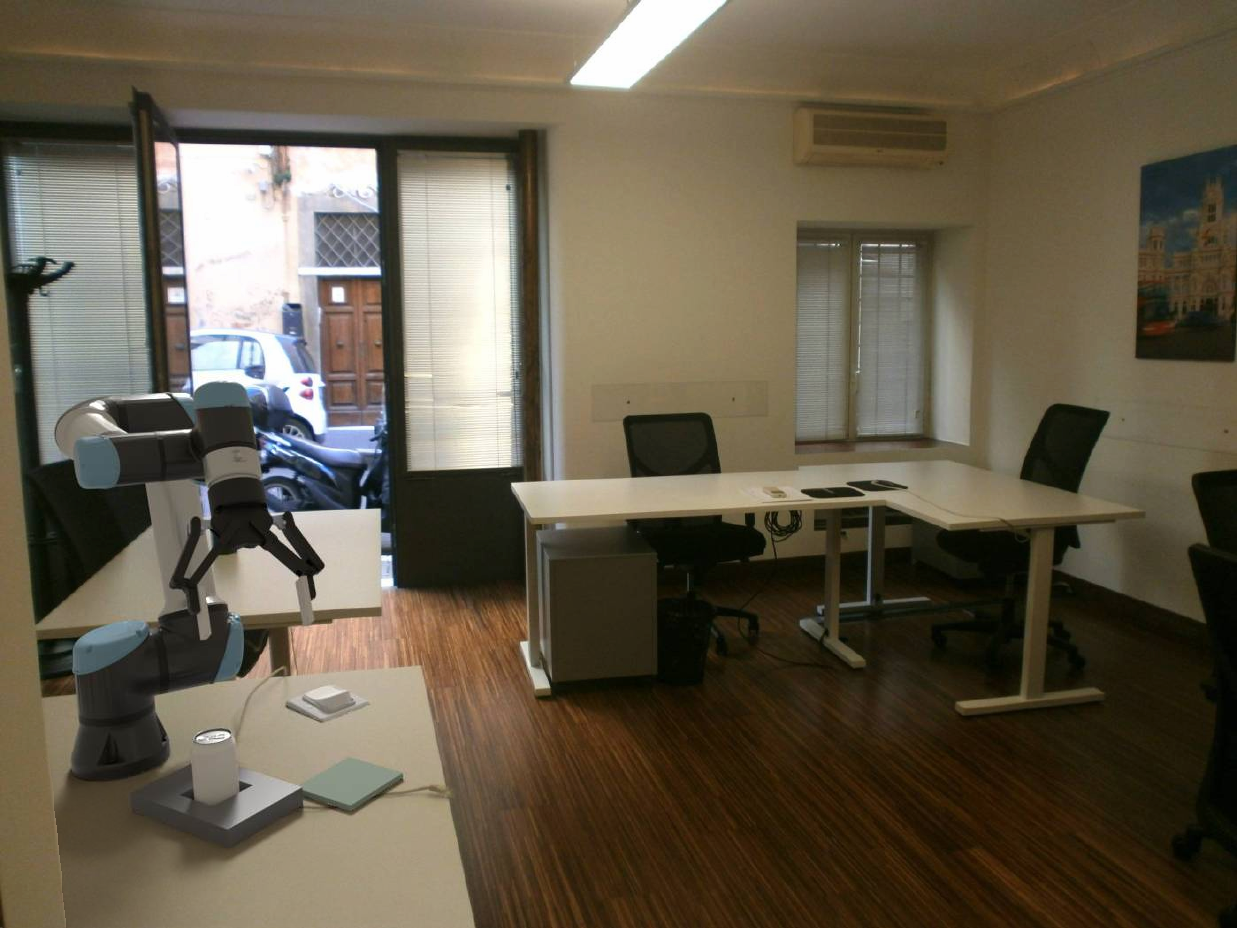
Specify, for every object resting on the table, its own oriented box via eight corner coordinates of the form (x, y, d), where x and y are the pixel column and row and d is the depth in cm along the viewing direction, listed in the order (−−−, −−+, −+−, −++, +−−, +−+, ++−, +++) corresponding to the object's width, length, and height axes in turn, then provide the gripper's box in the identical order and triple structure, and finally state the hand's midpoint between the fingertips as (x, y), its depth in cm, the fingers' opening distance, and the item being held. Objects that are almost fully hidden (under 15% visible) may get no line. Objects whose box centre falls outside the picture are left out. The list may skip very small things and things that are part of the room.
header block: (131, 810, 149) (130, 792, 149) (208, 772, 162) (207, 755, 161) (229, 848, 139) (227, 829, 138) (303, 804, 151) (302, 786, 151)
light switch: (323, 708, 180) (284, 687, 188) (323, 729, 181) (285, 707, 189) (371, 691, 188) (332, 671, 196) (371, 710, 189) (332, 690, 197)
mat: (294, 793, 155) (294, 787, 155) (349, 762, 165) (348, 756, 165) (350, 811, 149) (350, 805, 149) (403, 778, 159) (402, 772, 159)
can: (197, 801, 152) (192, 729, 150) (241, 794, 154) (236, 724, 152) (193, 821, 146) (186, 747, 144) (238, 814, 148) (233, 741, 146)
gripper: (144, 477, 126) (165, 635, 120) (329, 471, 141) (357, 610, 135) (133, 499, 132) (153, 651, 125) (313, 491, 147) (339, 625, 140)
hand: (259, 630), depth 130 cm, fingers open, 13 cm apart
